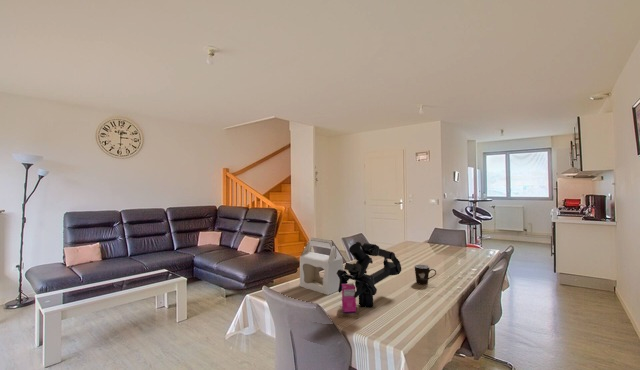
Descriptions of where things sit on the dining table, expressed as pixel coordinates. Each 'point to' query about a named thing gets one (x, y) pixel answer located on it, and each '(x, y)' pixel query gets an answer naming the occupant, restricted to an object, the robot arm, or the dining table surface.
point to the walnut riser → (348, 315)
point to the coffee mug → (422, 274)
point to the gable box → (327, 262)
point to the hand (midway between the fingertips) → (346, 294)
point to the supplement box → (348, 298)
